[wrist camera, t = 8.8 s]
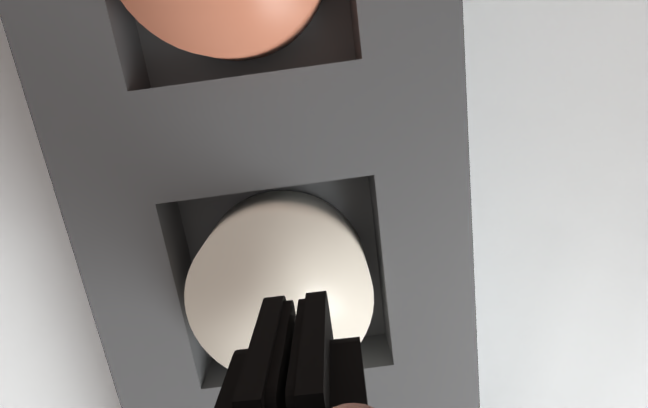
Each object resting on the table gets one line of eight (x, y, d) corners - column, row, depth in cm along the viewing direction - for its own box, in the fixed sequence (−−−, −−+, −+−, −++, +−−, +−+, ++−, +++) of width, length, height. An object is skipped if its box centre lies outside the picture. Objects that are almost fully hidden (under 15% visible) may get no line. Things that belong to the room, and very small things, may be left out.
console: (405, -219, 15) (447, -357, 10) (453, 497, 24) (488, 602, 19) (36, -164, 15) (-90, -273, 11) (216, 525, 24) (192, 636, 19)
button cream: (355, 179, 16) (363, 199, 13) (372, 327, 17) (382, 371, 15) (189, 202, 16) (164, 226, 13) (221, 346, 17) (205, 393, 15)
